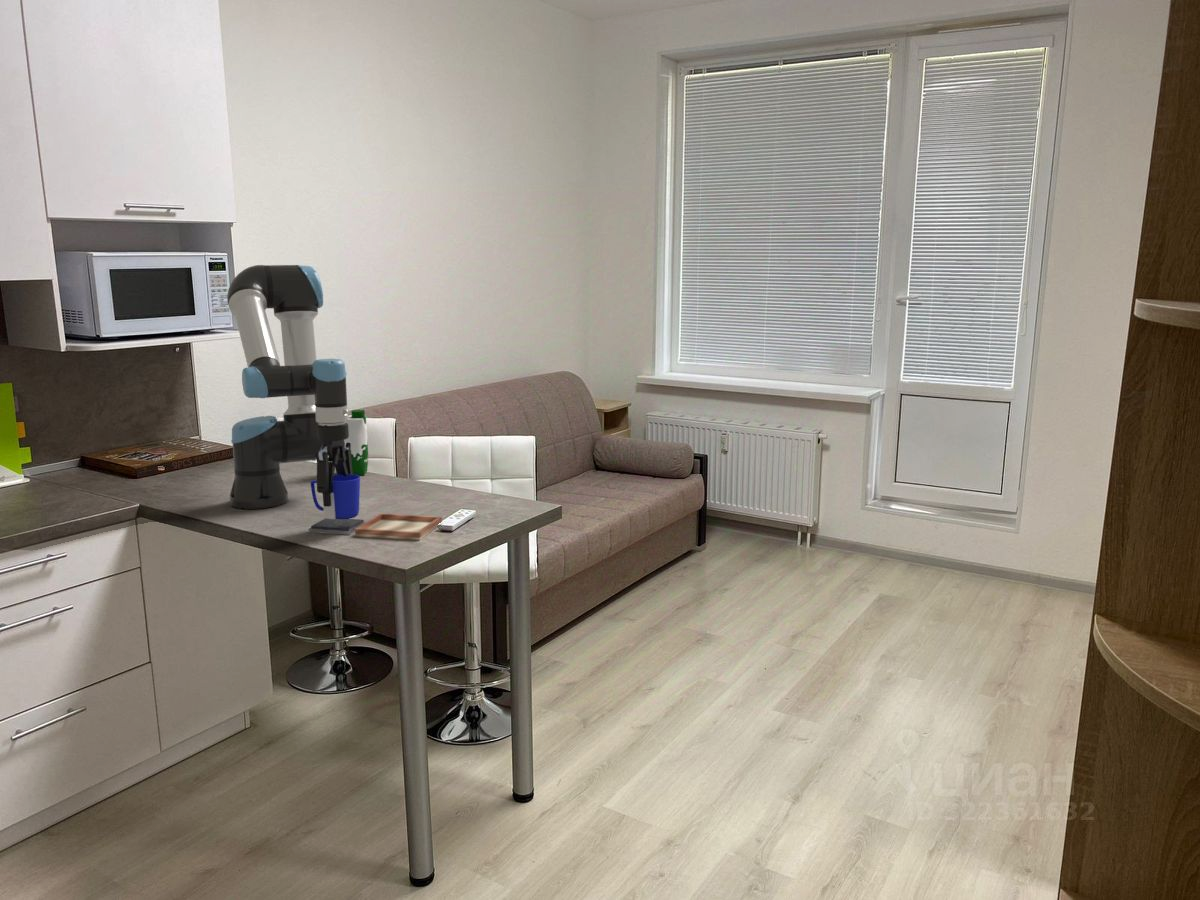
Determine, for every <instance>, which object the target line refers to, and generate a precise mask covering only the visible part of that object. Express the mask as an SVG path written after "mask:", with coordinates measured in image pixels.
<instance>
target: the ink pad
mask: <svg viewBox="0 0 1200 900" xmlns="http://www.w3.org/2000/svg"><path fill="white" fill-rule="evenodd" d="M365 522H366V521H365V520H364V519H357V518H356V519H355V518H351V519H324V518H323V519H321V520H320V521H318V522H316V523H315V524H312V525H311V526H310V527H309V528H308V533H314V534H315V533H317V534H319V533H320V534H333V535H352V534H355V529H356V528H357V527H359V526H360V525H362V524H364V523H365Z"/></svg>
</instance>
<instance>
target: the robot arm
mask: <svg viewBox="0 0 1200 900" xmlns="http://www.w3.org/2000/svg"><path fill="white" fill-rule="evenodd" d="M229 285H230V286H229V287H228V290H227V294H226V295H227V301H226V302H227V304H228V305H227V306H228V309H229V310H230V312H231V314H232V315H233V316H235V320H236V324H237V329H238V332H239V336H240V337H239V338H240V340H241V345H242V349H243V353H244V357H245V361H246V365H247V367H244V368H243V369H242V371H241V383H242V390H243V394H244V396H245V397H247V398H248V399H250V398H251V399H266V398H267V399H268V398H279V397H287V406H288V407H287V408H286V410H285V411H284V412H283V416H282V417H283V420H278V419H277V417H276V416H274V415H266V416H264V415H263V416H256V417H250V418H247V419H243V420H240V421H237V422H236V423H234V424H233V426H232V427H231V444H232V452H233V457H232V458H233V468H234V469H233V470H234V479H233V483H232V486H231V491H230V494H229V505H230V506H231V507H232V506H233V508H235V507H237V508H236V509H241V508H244V509H245V510H254V509H255V510H258V509H267V508H272V507H277V506H281V505H284V504H286V503H287V502H289V492H288V490H287V487H286V484H285V482H284V479H283V477H282V474H281V471H280V469H281V468H280V464H287V463H296V462H299V463H300V462H310V461H313V462H315V461H316V480H317V483H316V492H317V493H319V494H322V505H323V506H322V507H323V508H324V511H323V519H336V513H335V503H334V493H332V489H333V487H332V481H333V480H334V475H335V472H336V475H340V474H341V475H343V476H347V474H353V471H352V462H351V452H350V450H351V443H348V442H344V440H345V439H347V438H348V437H349V428H348V424H347V423H345V422H346V421H347V420H348V416H349V412H350V411H349V410H348V400H347V399H348V395H347V371H346V365H345V361H344V360H342V359H340V358H338V359H337V358H320V359H317V352H316V351H317V350H316V341H315V340H316V339H315V329H314V319H315V318H316V317H317V316H318V314H319V310H318V309H320V308H322V307H323V306H324V292H323V286H322V282H321V278H320V276H319V274H318V272H317V271H316V269H315V268H314V267H313V266H310V265H302V264H301V265H299V264H287V265H285V264H280V265H279V264H276V265H275V264H272V265H269V264H268V265H266V264H265V265H264V264H257V265H252V266H249V267H247V268H244V269H243V270H242V271H240V272H239V273H237V275H236V276H235V277H234V278H233V280H232V281H231V283H230V284H229ZM266 309H273V315H274V317H275V318H276V319H278V320H279V322H280V328H281V339H282V340H281V341H282V349H283V350H282V352H283V364H284V365H281V364H280V363H281V362H280V359H279V356H278V352H277V349H276V344H275V340H274V338H273V334H272V330H271V327H270V326H271V325H270V324H269V320H268V317H267V313H266V312H267V311H266Z"/></svg>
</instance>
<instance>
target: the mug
mask: <svg viewBox="0 0 1200 900" xmlns="http://www.w3.org/2000/svg"><path fill="white" fill-rule="evenodd" d="M315 484H317V479H315V480H311V481H310V489H311V495H312V496H311V497H312V500H313V504H314V505H315V507H316V509H318V511H323V512H324V508H323V506H321V504H319V502H318V501H319V500H318V498H317V493H316V488H315V487H316V486H315ZM332 487H333V489H332V493H334V503H335V513H336V519H355V518H356V517H357V516H358V515H359V513H360V498H361V497H360V492H361V489H360V487H361V476H358V475H353V474H347V476H343V475H341V474H340V475H337V474H334V480H333V481H332Z"/></svg>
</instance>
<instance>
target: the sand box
mask: <svg viewBox="0 0 1200 900" xmlns="http://www.w3.org/2000/svg"><path fill="white" fill-rule="evenodd" d="M364 522H365V523H364V524H362V525H360V526H359V527H357V528H356V529H355V532H354V537H363V538H365V537H366V538H380V539H392V540H393V539H395V540H396V539H397V540H409V541H410V540H411V541H412V540H413V541H421V540H422V539H424V538H425V537H426V536H427V535H429V534H430V533H432V532H433V531H435V530H436V529H437V528H438V527H439V526H438V524H439V523H441V522H442V523H443V517H442V516H436V515H435V516H434V515H415V514H414V515H413V514H400V513H399V514H397V513H382V512H381V513H379V514H377V515H376V516H374V517H372V518H371V519H368V520H367V521H364ZM437 526H438V527H437Z"/></svg>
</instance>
